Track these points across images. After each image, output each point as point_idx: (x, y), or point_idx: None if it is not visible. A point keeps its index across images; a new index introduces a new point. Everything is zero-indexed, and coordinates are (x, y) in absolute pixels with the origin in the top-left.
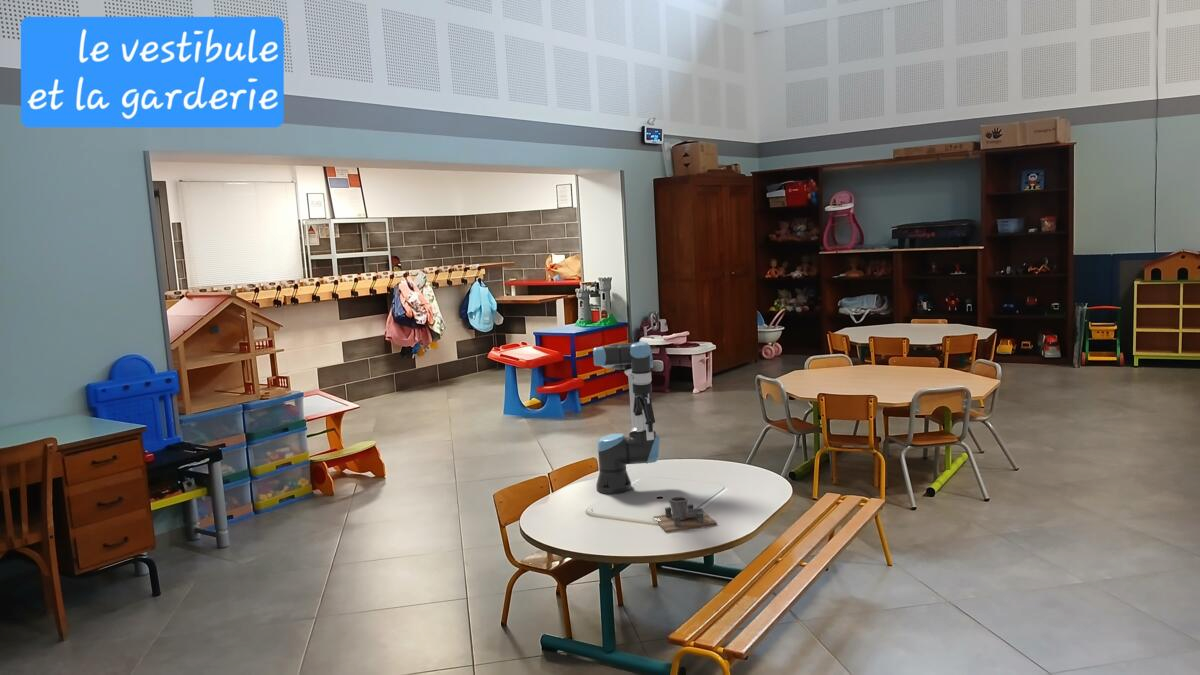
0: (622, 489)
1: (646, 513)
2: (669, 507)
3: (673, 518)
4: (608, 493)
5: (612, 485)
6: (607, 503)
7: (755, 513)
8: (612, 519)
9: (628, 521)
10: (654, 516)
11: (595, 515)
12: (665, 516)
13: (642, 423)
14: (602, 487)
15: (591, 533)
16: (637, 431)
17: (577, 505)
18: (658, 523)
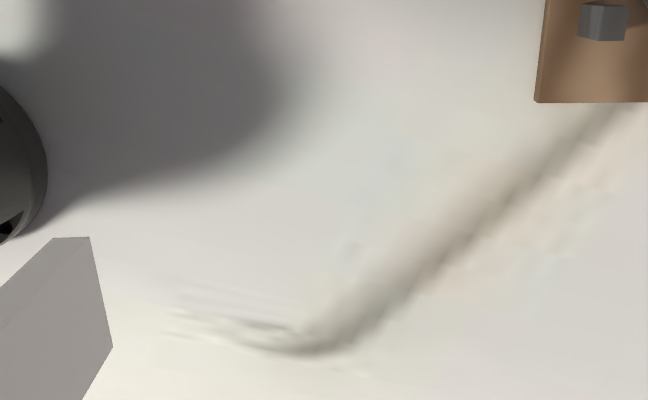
0: (28, 137)
1: (429, 105)
2: (609, 12)
3: (633, 1)
4: (40, 206)
5: (16, 200)
6: (193, 244)
7: None
8: (435, 277)
9: (500, 220)
10: (541, 93)
11: (346, 329)
12: (575, 35)
13: (5, 333)
14: (3, 241)
15: (562, 389)
16: (106, 339)
17: (177, 366)
18: (641, 101)
